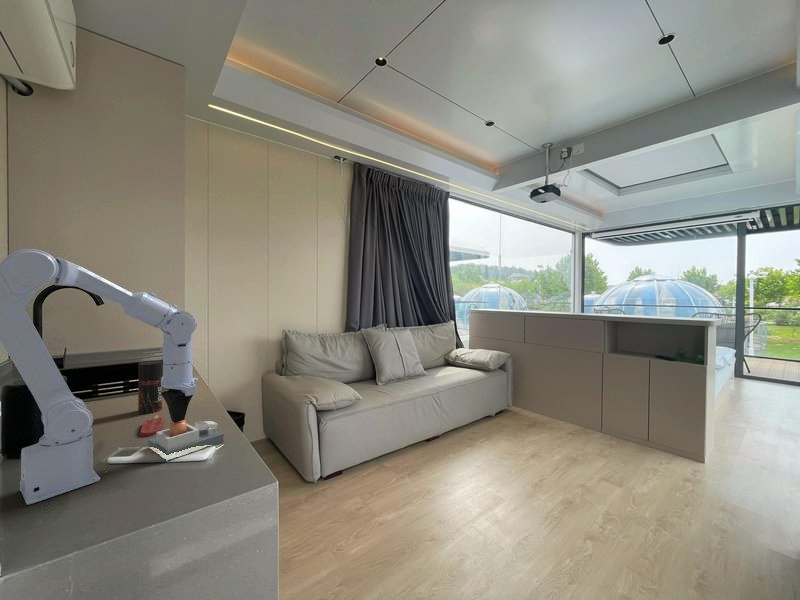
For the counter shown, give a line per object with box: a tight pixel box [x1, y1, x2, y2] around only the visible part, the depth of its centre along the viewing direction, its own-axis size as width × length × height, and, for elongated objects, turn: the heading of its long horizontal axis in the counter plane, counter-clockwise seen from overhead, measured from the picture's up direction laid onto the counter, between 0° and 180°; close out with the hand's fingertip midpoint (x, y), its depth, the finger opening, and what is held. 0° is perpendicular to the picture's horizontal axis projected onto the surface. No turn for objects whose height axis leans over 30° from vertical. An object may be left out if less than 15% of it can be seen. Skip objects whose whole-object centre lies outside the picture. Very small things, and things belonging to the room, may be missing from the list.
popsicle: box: [140, 414, 165, 438], centre depth 90 cm, size 4×2×15 cm
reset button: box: [169, 419, 187, 437], centre depth 76 cm, size 3×3×3 cm
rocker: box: [194, 420, 219, 430], centre depth 82 cm, size 4×4×1 cm
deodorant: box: [137, 360, 163, 415], centre depth 102 cm, size 6×6×15 cm
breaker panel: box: [147, 423, 224, 455], centre depth 79 cm, size 12×11×4 cm
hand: (178, 420), depth 76 cm, fingers closed
